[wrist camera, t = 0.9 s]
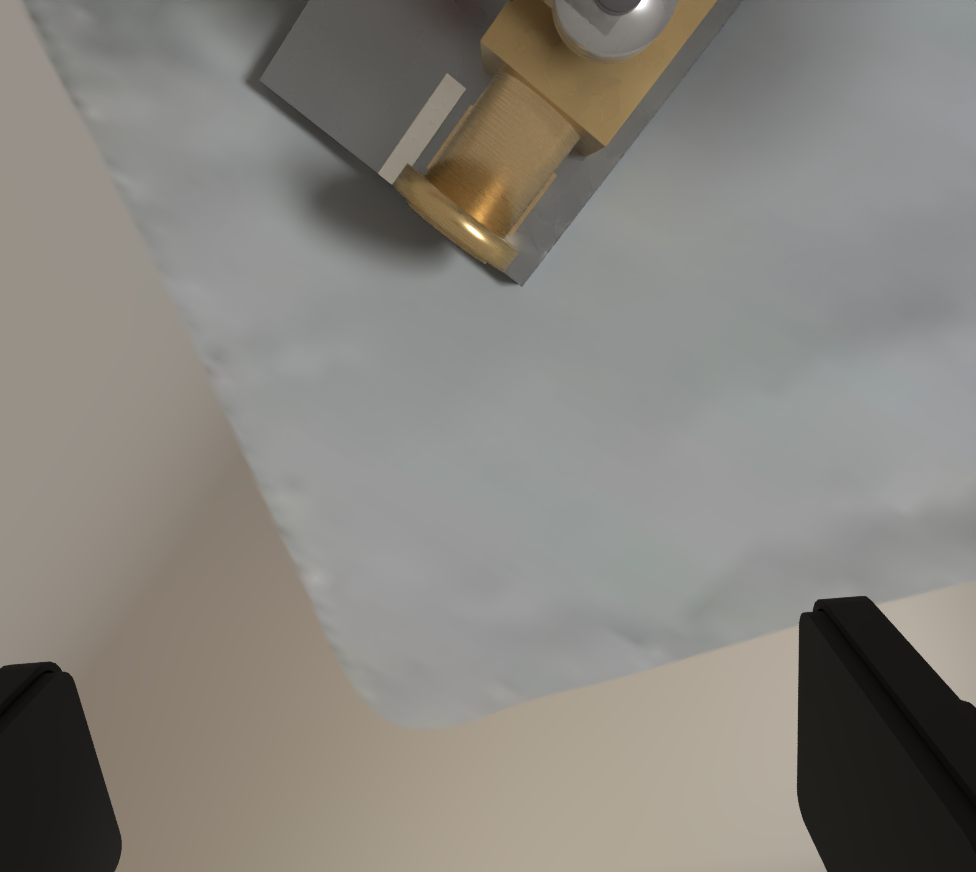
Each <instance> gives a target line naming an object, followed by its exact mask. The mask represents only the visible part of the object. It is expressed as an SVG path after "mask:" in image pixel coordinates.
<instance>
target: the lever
mask: <svg viewBox="0 0 976 872" xmlns="http://www.w3.org/2000/svg"><path fill="white" fill-rule="evenodd" d="M542 1H544V2H545V3H546V4H547V5H548V6H549V7H550V8H551V9H552V16H553V20H554V24H555V27H556V29H557V31H558V34H559V35H560V37H561V39H562V40H563V42H564V43H565V44H566V46H567V47H568V48H569V49H570V50H571V51H572V52H574V53H575V54H576V55H578V56H579V57H581V58H583V59H585V60H587V61H590V62H593V63H597V64H616V63H621V62H624V61H627V60H629V59H631V58H633V57H635V56H636V55H638V54H639V53H641V52H642V51H643V50H644V49H645V48H646V47H648V46H649V45H650V43H651V42H652V41H653V40H654V39H655V38H656V37H657V36H658V35H659V34H660V33H661V32H662V31H663V29H664V28H665V27H666V25H667V24H668V22H669V21H670V19H671V17H672V15H673V13H674V11H675V9H676V6H677V3H678V0H542Z"/></svg>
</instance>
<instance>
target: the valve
mask: <svg viewBox="0 0 976 872" xmlns="http://www.w3.org/2000/svg"><path fill="white" fill-rule="evenodd" d="M742 1H743V0H678V3H677V6H676V9H675V11H674V13H673V15H672V17H671V19H670V21H669V22H668V24H667V25H666V27H665V28H664V29H663V31H662V32H661V33H660V34H659V35H658V36H657V37H656V38H655V39H654V40H653V41H652V42H651V43H650V45H649V46H648V47H646V48H645V49H644V50H643V51H642V52H641V53H639V54H638V55H636V56H635V57H633V58H631V59H629V60H627V61H624V62H621V63H616V64H597V63H593V62H590V61H587V60H585V59H583V58H581V57H579V56H578V55H576V54H575V53H574V52H572V51H571V50H570V49H569V48H568V47H567V46H566V44H565V43H564V42H563V40H562V39H561V37H560V35H559V34H558V31H557V29H556V27H555V24H554V20H553V16H552V9H551V8H550V7H549V6H548V5H547V4H546V3H545V2H544V1H542V0H309V1H308V3H307V4H306V6H305V8H304V9H303V11H302V12H301V14H300V16H299V17H298V19H297V20H296V22H295V24H294V25H293V27H292V28H291V30H290V32H289V33H288V35H287V36H286V38H285V40H284V41H283V43H282V44H281V46H280V48H279V49H278V51H277V52H276V54H275V55H274V57H273V59H272V60H271V62H270V63H269V65H268V67H267V68H266V70H265V71H264V73H263V75H262V76H261V78H260V79H259V81H261V82H262V83H263V84H265V85H266V86H267V87H268V88H270V89H271V90H272V91H273V92H275V93H276V94H277V95H279V96H280V97H281V98H282V99H284V100H285V101H286V102H287V103H289V104H290V105H291V106H293V107H294V108H295V109H296V110H298V111H299V112H300V113H301V114H303V115H304V116H305V117H307V118H308V119H309V120H310V121H312V122H313V123H314V124H315V125H317V126H318V127H319V128H321V129H322V130H323V131H324V132H326V133H327V134H328V135H329V136H331V137H332V138H333V139H335V140H336V141H337V142H338V143H340V144H341V145H342V146H343V147H345V148H346V149H347V150H349V151H350V152H351V153H352V154H354V155H355V156H356V157H357V158H359V159H360V160H361V161H363V162H364V163H365V164H366V165H368V166H369V167H370V168H371V169H373V170H374V171H375V172H377V173H378V174H379V175H380V176H381V177H383V178H384V179H385V180H386V181H388V182H389V183H390V184H392V185H393V187H394V188H395V189H396V190H397V191H398V192H399V193H400V194H401V195H402V196H403V197H405V198H406V199H407V201H406V203H407V204H408V205H409V206H410V207H411V208H412V209H413V210H414V211H415V212H416V213H418V214H419V215H420V216H421V217H422V218H423V219H425V220H426V221H427V222H428V223H429V224H431V225H432V226H433V227H434V228H436V229H437V230H438V231H439V232H441V233H442V234H443V235H444V236H446V237H447V238H448V239H450V240H451V241H452V242H453V243H455V244H456V245H457V246H459V247H460V248H462V249H463V250H464V251H466V252H467V253H468V254H470V255H471V256H473V257H474V258H476V259H477V260H479V261H480V262H482V263H484V264H486V263H489V264H490V265H492V266H493V267H495V268H496V269H498V270H500V271H502V272H504V273H505V274H506V275H508V276H509V277H510V278H511V279H513V280H514V281H515V282H517V283H518V284H519V285H520V286H523V285H524V284H525V282H526V281H527V280H528V278H529V277H530V276H531V274H532V273H533V272H534V271H535V269H536V268H537V267H538V265H539V264H540V263H541V261H542V260H543V259H544V258H545V256H546V255H547V254H548V252H549V251H550V250H551V248H552V247H553V246H554V245H555V243H556V242H557V241H558V239H559V238H560V237H561V235H562V234H563V233H564V232H565V230H566V229H567V228H568V226H569V225H570V224H571V222H572V221H573V220H574V219H575V217H576V216H577V215H578V213H579V212H580V211H581V210H582V208H583V207H584V206H585V204H586V203H587V202H588V200H589V199H590V198H591V197H592V195H593V194H594V193H595V191H596V190H597V189H598V187H599V186H600V185H601V184H602V182H603V181H604V180H605V178H606V177H607V176H608V174H609V173H610V172H611V171H612V169H613V168H614V167H615V165H616V164H617V163H618V161H619V160H620V159H621V158H622V156H623V155H624V154H625V152H626V151H627V150H628V149H629V147H630V146H631V145H632V143H633V142H634V141H635V139H636V138H637V137H638V136H639V134H640V133H641V132H642V130H643V129H644V128H645V126H646V125H647V124H648V123H649V121H650V120H651V119H652V117H653V116H654V115H655V113H656V112H657V111H658V110H659V108H660V107H661V106H662V104H663V103H664V102H665V100H666V99H667V98H668V97H669V95H670V94H671V93H672V91H673V90H674V89H675V88H676V86H677V85H678V84H679V82H680V81H681V80H682V78H683V77H684V76H685V75H686V73H687V72H688V71H689V69H690V68H691V67H692V65H693V64H694V63H695V62H696V60H697V59H698V58H699V56H700V55H701V54H702V52H703V51H704V50H705V49H706V47H707V46H708V45H709V43H710V42H711V41H712V39H713V38H714V37H715V36H716V34H717V33H718V32H719V30H720V29H721V28H722V26H723V25H724V24H725V23H726V21H727V20H728V19H729V17H730V16H731V15H732V14H733V12H734V11H735V10H736V8H737V7H738V6H739V4H740V3H741V2H742Z"/></svg>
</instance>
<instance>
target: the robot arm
mask: <svg viewBox="0 0 976 872" xmlns="http://www.w3.org/2000/svg"><path fill="white" fill-rule="evenodd" d="M798 677H799V678H798V679H799V682H798V686H799V687H798V754H797V755H798V757H797V758H798V759H797V795H798V802H799V807H800V811H801V814H802V818H803V820H804V823H805V825H806V827H807V829H808V832H809V834H810V836H811V838H812V840H813V842H814V844H815V846H816V849H817V851H818V853H819V855H820V857H821V859H822V861H823V863H824V865H825V868H826V870H827V872H976V708H975V707H974V706H973V705H972V704H971V703H969V702H966V701H963V700H960V699H959V697H958V696H957V695H956V694H955V693H954V692H953V691H952V690H951V689H950V688H949V686H948V685H947V684H946V683H945V682H944V681H943V680H942V679H941V678H940V676H939V675H938V674H937V673H936V672H935V671H934V670H933V669H932V667H931V666H930V665H929V664H928V663H927V662H926V661H925V660H924V659H923V657H922V656H921V655H920V654H919V653H918V652H917V651H916V650H915V649H914V647H913V646H912V645H911V644H910V643H909V642H908V641H907V640H906V639H905V637H904V636H903V635H902V634H901V633H900V632H899V631H898V630H897V628H896V627H895V626H894V625H893V624H892V623H891V622H890V621H889V620H888V618H886V616H885V615H884V614H883V613H882V612H881V611H880V610H879V608H878V607H877V606H876V605H875V604H874V603H873V602H872V601H871V600H870V599H869V598H868V597H866V596H856V597H843V598H831V599H819V600H817V601H816V602H815V604H814V607H813V612H805V613H802V614H801V617H800V621H799V676H798ZM121 849H122V841H121V835H120V831H119V828H118V824H117V821H116V818H115V814H114V811H113V808H112V805H111V801H110V798H109V794H108V791H107V788H106V785H105V781H104V778H103V774H102V771H101V768H100V765H99V761H98V758H97V755H96V752H95V748H94V745H93V741H92V738H91V735H90V731H89V728H88V725H87V721H86V718H85V715H84V711H83V708H82V705H81V702H80V698H79V695H78V692H77V688H76V685H75V682H74V680H73V678H72V676H71V675H70V674H69V673H67V672H62V670H61V668H60V667H59V666H58V665H57V664H56V663H53V662H38V663H26V664H14V665H7V666H3V667H2V668H0V872H114V871H115V869H116V867H117V865H118V863H119V859H120V855H121Z"/></svg>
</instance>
